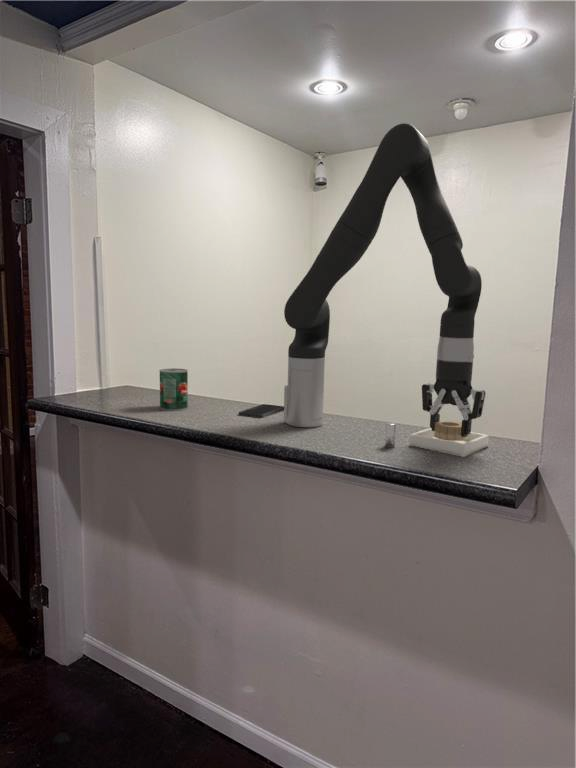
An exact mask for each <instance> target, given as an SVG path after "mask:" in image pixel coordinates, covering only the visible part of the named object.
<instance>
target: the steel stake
mask: <svg viewBox="0 0 576 768" xmlns="http://www.w3.org/2000/svg"><path fill="white" fill-rule="evenodd" d="M396 435H397V424H396V423H395V422H387V423H386V422H385V435H384V438H385V439H384V447H385V448H390V447H392V448H395V447H396Z"/></svg>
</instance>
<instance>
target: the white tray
mask: <svg viewBox="0 0 576 768" xmlns="http://www.w3.org/2000/svg"><path fill="white" fill-rule="evenodd" d="M489 437H490V435H489V434H484V433H483V434H482V433H478V432H473V431H471V432H470V434H468V436H466V437H465V439H464V440H461V441H448V440H442V439H438V438H436V437H434V431H432V428H430V427H429V428H425V429H422V430H420V431H417V432H413V433H411V434H409V443H408V445H410V447H414V446H415V448H418V447H419V448H420V449H423V448H424V450H428V449H429V450H428V451H434V452H437V451H438V453H442V454H449V455H451V456H457V457H461V458H465V457H468V456H471V455H472V454H474V453H476V452H478V451H481V450H483V449H485V448H487V447H489V439H490V438H489Z"/></svg>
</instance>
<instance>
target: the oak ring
mask: <svg viewBox="0 0 576 768" xmlns="http://www.w3.org/2000/svg"><path fill="white" fill-rule="evenodd" d="M461 428H462V422H459V421H452V420H440V421H438V422H435V431H434V437H436V438H438V439H442V440H448V441H461V440H464V439H465V437H461Z"/></svg>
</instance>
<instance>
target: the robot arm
mask: <svg viewBox="0 0 576 768" xmlns="http://www.w3.org/2000/svg"><path fill="white" fill-rule="evenodd" d="M429 144H430V143H429V142H428V140H427V138H426V137H425V136H424V135H423V134H422V133H421V132H420V131H419V130H418V129H417V128H416V127H415V126H414V125H413V124H410V123H407V122H403V123H399V124H395V126H393V127H391V128H390V129H389V130H388V131H387V132H386V134H385V135H384V136H383V137H382V139H381V141H380V143H379V144H378V147H377V149H376V152H375V154H374V155H373V158H372V160H371V162H370V163H369V166H368V168H367V170H366V172H365V175H364V176H363V178H362V179H361V182H360V184H359V185H358V186H357V188H356V190H355V192H354V194H353V195H352V197H351V199H350V201H349V202H348V204H347V206H346V208H345V209H344V211H343V212H342V214H341V216H340V217H339V218H338V219H337V222H336V224H335V225H334V226H333V228H332V230H331V232H330V233H329V235H328V237H327V239H326V241H325V243H324V245H323V246H322V247H321V249H320V251H319V253H318V254H317V256H316V258H315V259H314V262H313V263H312V264H311V266H310V268H309V270H308V271H307V273H306V274H305V276H303V278H302V280H301V281H300V282H299V284H298V285H297V286H296V288H295V289H294V290H293V291H292V293H291V295H290V296H289V298H288V299H287V301H286V302H285V306H284V309H283V311H284V313H283V314H284V319H285V320H284V321H285V323H287V325H288V326H289V327H291V328H292V329H294V330H295V333H294V338H293V340H292V342H291V343H290V344H289V346H288V351H287V352H288V355H287V385H284V391H283V392H284V395H283V396H284V397H283V400H284V401H283V406H284V411H283V423H285V424H287V425H288V426H292V427H297V428H315V427H321V426H322V425H323V422H324V421H323V420H324V418H323V417H324V398H325V397H324V396H325V395H324V393H325V392H324V390H325V389H324V387H325V365H326V364H325V361H326V350H327V347H328V344H329V339H330V338H329V336H330V335H329V334H330V322H331V310H330V304H329V302H328V301H327V298H328V296H329V295H330V293H331V291H332V290H333V288H334V287H335V286H336V284H337V283H338V282H339V281H340V280H341V279H343V277H344V276H345V275H346V274H347V273H349V271H351V269H353V267H355V266H356V264H358V262H359V261H360V260H361V259H362V258H363V256H364V254H365V253H366V251H367V250H368V249H369V247H370V245H371V243H372V242H373V240H374V238H376V234H377V233H378V231H379V227H380V226H381V225H380V224H381V222H382V217H383V213H384V210H385V206H386V204H387V202H388V201H387V200H388V197H389V196H390V194H391V192H392V191H393V188H394V187H395V185H396V183H398V181H399V180H400V178H401V180H402V181H403V183H404V184H405V186H406V188H407V189H408V192H409V193H410V195H411V196H410V197H412V200H413V203H414V204H413V205H414V206H415V207H414V208H415V212H416V218H417V223H418V226H419V229H420V233H421V235H422V237H423V240H424V242H425V246H426V248H427V249H428V252H429V255H430V256H431V262H432V268H433V272H434V276H435V280H436V283H437V286H438V288H439V289H440V290H441V292H442V293H443V294H444V295H445V296H447V297H448V302H447V307H446V309H445V310H444V311H443V312H442V313H441V316H440V322H439V323H440V325H439V326H440V327H439V338H438V344H437V351H436V352H437V353H436V370H435V382H434V383H433V384H431V383H424V384H422V385H421V399H422V400H421V401H422V410H423V411H425V412H428V413H429V415H430V417H429V428H432V431H435V422H438V421H441V420H440V418H441V414H440V412H441V410H442V408H443V407H444V406H445V405H452V406H456V407H457V409H458V411H460V413H461V414H460V415H461V417H462V418H463V419H461V423H462V428H461V437H466V436H468V434H470V432H472V423H473V422H472V421H473V420H476V419H477V418H480V417H482V415H483V414H482V413H483V409H484V403H485V398H486V391H485V390H483V389H482V390H480V389H479V390H478V389H474V388H473V386H472V379H473V367H474V366H473V364H474V358H475V354H474V351H475V346H474V345H475V344H474V343H475V342H474V334H475V322H476V321H475V317H476V313H477V310H478V307H479V302H480V298H481V295H482V294H481V293H482V288H483V287H482V285H483V284H482V283H483V282H482V276H481V274H480V271H479V270H478V269H477V268H476V267H475V266H474V267H473V266H471V265H468V264H467V263H466V261H465V258H464V254H463V252H462V249H463V247H464V245H463V244H464V243H463V239H462V236H461V235H460V231H459V229H458V227H457V225H456V223H455V221H454V218H453V216H452V214H451V211H450V209H449V207H448V205H447V202H446V200H445V198H444V195H443V193H442V190H441V187H440V184H439V182H438V179H437V175H436V172H435V171H436V170H435V166H434V162H433V157H432V153H431V148H430V145H429ZM434 392H435V393H436V395H437V397H436V399H435V400H434V402H433V393H434ZM470 396H472V400H473V404H472V405H473V406H472V408H471V405H470V401H469V399H468V398H470ZM471 409H472V410H471Z"/></svg>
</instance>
